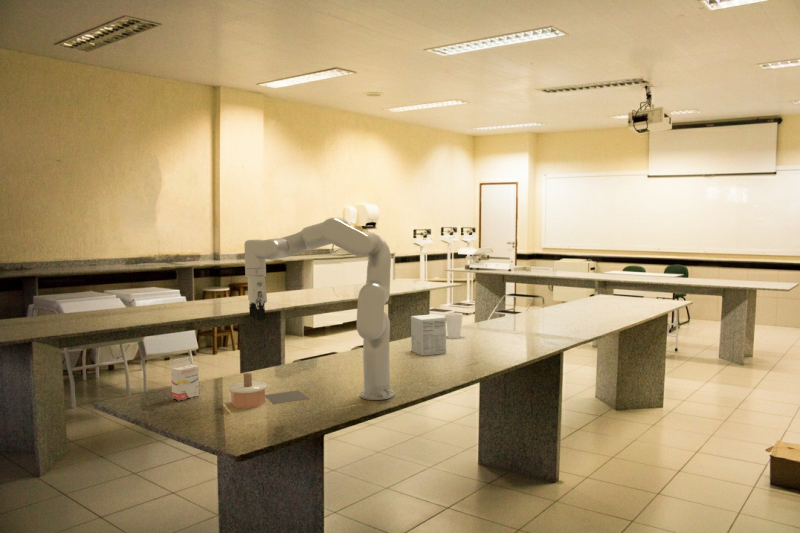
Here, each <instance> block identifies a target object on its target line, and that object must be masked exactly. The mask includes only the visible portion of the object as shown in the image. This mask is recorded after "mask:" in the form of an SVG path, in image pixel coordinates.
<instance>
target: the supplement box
mask: <svg viewBox="0 0 800 533" xmlns="http://www.w3.org/2000/svg"><path fill="white" fill-rule="evenodd" d="M410 333H411V342H410V344H411V352H413V353H414V354H417V355H419V356H434V354H435V355H443V354H447V324H446V318H445V316H441V315H438V314H434V313H433V314H432V313H431V314H422V315H421V314H420V315H411V316H410Z"/></svg>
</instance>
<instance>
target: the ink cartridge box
mask: <svg viewBox="0 0 800 533" xmlns="http://www.w3.org/2000/svg"><path fill="white" fill-rule="evenodd" d="M170 365H171V366H170V367H171V369H170V377H171V378H170V380H171V399H172V398H175V399H183V398H188V397H193V396H199V397H200V382H199V381H200V380H199V375H200V374H199V365H196V364H192V356H187V357H180V358H176V359H172V360H171V364H170Z"/></svg>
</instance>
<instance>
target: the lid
mask: <svg viewBox="0 0 800 533" xmlns="http://www.w3.org/2000/svg"><path fill="white" fill-rule="evenodd" d="M267 388H268V384H267V383H266V382H263V381H256V380H254V381H253V374H252V372H244V373H243V381H241V382H236V383H233V384H231V385H229V386H228V391H229V392H230V393H231V392H233V393H253V392H258V391H262V390H264V389H265V390H266V389H267Z"/></svg>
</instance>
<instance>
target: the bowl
mask: <svg viewBox="0 0 800 533" xmlns="http://www.w3.org/2000/svg"><path fill="white" fill-rule="evenodd" d="M265 395H266V389H264V390H262V391H258V392H253V393H233V392H230V397H231V398H230V400H231V406H232V407H233V408H239V409H250V408H252V409H253V408H257V407H258V408H259V407H261V406H263V405H264V404H265V403H266V397H265Z"/></svg>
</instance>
